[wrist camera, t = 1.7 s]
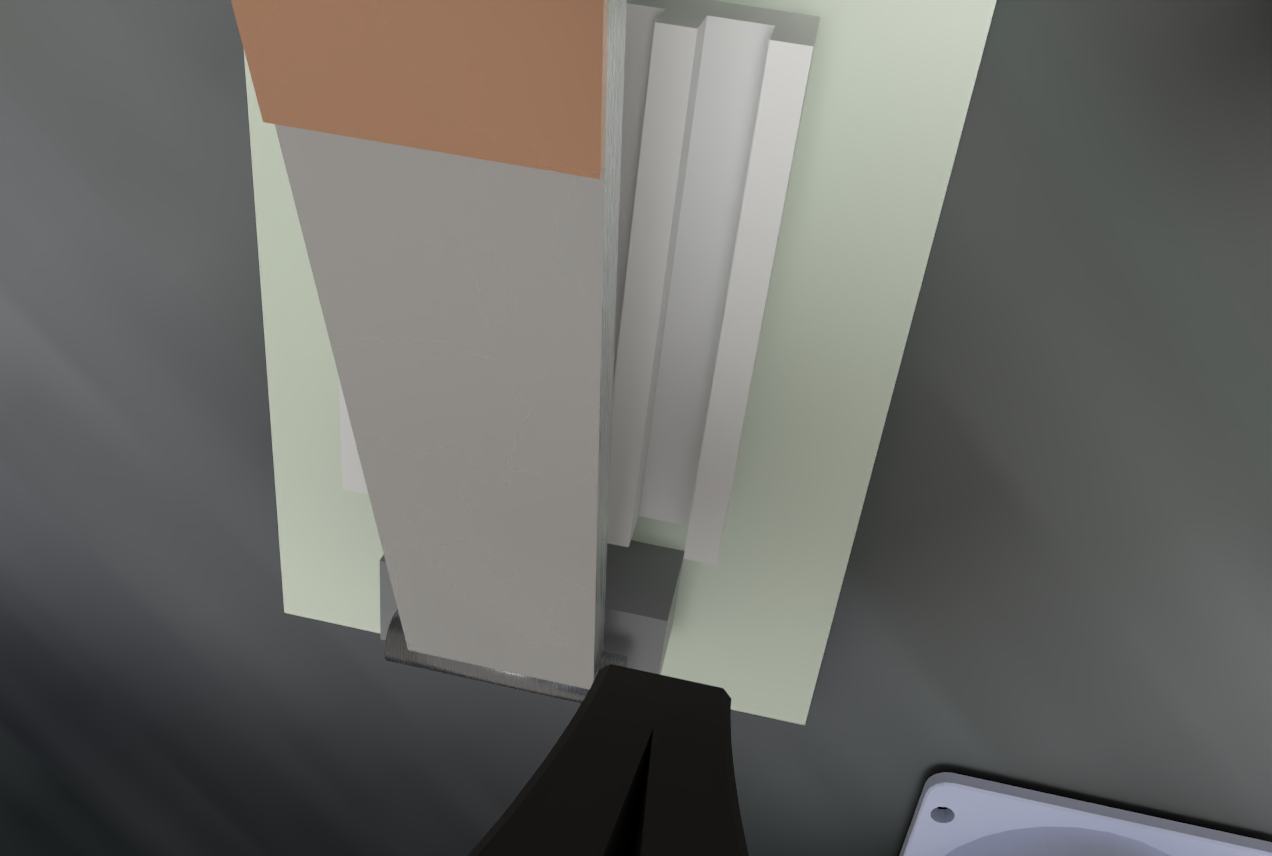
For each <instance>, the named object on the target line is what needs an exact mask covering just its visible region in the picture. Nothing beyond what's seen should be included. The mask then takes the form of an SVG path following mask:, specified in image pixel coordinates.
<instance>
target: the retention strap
mask: <svg viewBox="0 0 1272 856" xmlns="http://www.w3.org/2000/svg"><path fill="white" fill-rule="evenodd" d="M231 2H232V6H233V10H234V13H235V17H236V21H237V25H238V29H239V32H240V36H241V40H242V44H243V48H244V51H245V55H246V59H247V63H248V67H249V70H250V74H251V78H252V82H253V86H254V89H255V93H256V97H257V101H258V105H259V108H260V112H261V116H262V120H263V122H265V123H271V124H275V127H276V131H277V135H278V139H279V143H280V147H281V151H282V155H283V159H284V163H285V167H286V171H287V175H288V179H289V183H290V187H291V190H292V194H293V198H294V202H295V206H296V210H297V214H298V218H299V222H300V226H301V230H302V234H303V238H304V242H305V246H306V250H307V254H308V257H309V261H310V265H311V269H312V273H313V277H314V281H315V285H316V289H317V293H318V297H319V301H320V305H321V309H322V313H323V317H324V321H325V325H326V328H327V332H328V336H329V340H330V344H331V348H332V352H333V356H334V360H335V364H336V368H337V372H338V376H339V380H340V384H341V388H342V392H343V395H344V399H345V403H346V407H347V411H348V415H349V419H350V423H351V427H352V431H353V435H354V439H355V443H356V447H357V451H358V455H359V459H360V462H361V466H362V470H363V474H364V478H365V482H366V486H367V490H368V494H369V498H370V502H371V506H372V510H373V514H374V518H375V522H376V526H377V530H378V533H379V537H380V541H381V545H382V549H383V553H384V557H385V561H386V565H387V569H388V573H389V577H390V581H391V585H392V589H393V593H394V597H395V600H396V604H397V608H398V609H397V611H396V612H395V614H394V615H393V617H392V620H391V622H390V625H389V628H388V631H387V635H386V640H385V648H384V654H385V659H386V660H387V661H392V662H396V663H401V664H405V665H410V666H414V667H419V668H424V669H428V670H433V671H437V672H442V673H446V674H451V675H456V676H460V677H465V678H469V679H474V680H478V681H483V682H488V683H492V684H497V685H501V686H506V687H510V688H515V689H520V690H524V691H529V692H533V693H538V694H542V695H547V696H551V697H556V698H561V699H565V700H570V701H574V702H579V703H582V702H583V700H584V699H585V697H586V695H587V693H588V691H589V690H590V688H591V686H592V684H593V682H594V680H595V678H596V675H597V673H598V671H599V670H600V669H602V668H604V667H606V666H608V665H610V664H613V665H618V666H623V667H627V662H628V656H624V655H619V654H614V653H610V652H605V651H603V650H604V622H605V594H606V566H607V538H608V510H609V482H610V454H611V426H612V398H613V370H614V342H615V314H616V286H617V258H618V230H619V202H620V174H621V146H622V118H623V91H624V63H625V35H626V7H627V0H231Z"/></svg>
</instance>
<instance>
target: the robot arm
mask: <svg viewBox="0 0 1272 856" xmlns="http://www.w3.org/2000/svg"><path fill="white" fill-rule="evenodd" d="M730 711H731V697H730V696H729V695H728V694H727V692H726V691H725V690H724V689H723V688H720V687H716V686H711V685H706V684H702V683H697V682H692V681H688V680H683V679H678V678H674V677H669V676H664V675H660V674H655V673H650V672H646V671H641V670H636V669H632V668H627V667H623V666H618V665H613V664H610V665H608V666H606V667H604V668H602V669H600V670H599V671H598V673H597V675H596V678H595V680H594V682H593V684H592V686H591V688H590V690H589V691H588V693H587V695H586V697H585V699H584V700H583V702H582V704H581V706H580V707H579V709H578V711H577V712H576V714H575V715H574V717H573V719H572V720H571V722H570V723H569V725H568V726H567V728H566V729H565V731H564V732H563V734H562V735H561V737H560V738H559V740H558V741H557V743H556V744H555V746H554V747H553V749H552V750H551V752H550V753H549V754H548V756H547V757H546V759H545V760H544V761H543V763H542V764H541V765H540V767H539V768H538V769H537V771H536V772H535V773H534V775H533V776H532V777H531V779H530V780H529V781H528V783H527V784H526V785H525V787H524V788H523V789H522V791H521V792H520V793H519V795H518V796H517V797H516V799H515V800H514V801H513V803H512V804H511V805H510V806H509V808H508V809H507V810H506V811H505V813H504V814H503V815H502V816H501V818H500V819H499V820H498V821H497V822H496V824H495V825H494V826H493V827H492V828H491V829H490V831H489V832H488V833H487V834H486V835H485V836H484V838H483V839H482V840H481V841H480V842H479V843H478V845H477V846H476V847H475V848H474V849H473V850H472V852H471V853H470V854H469V855H468V856H749V855H748V850H747V845H746V841H745V836H744V831H743V826H742V821H741V815H740V809H739V803H738V797H737V789H736V782H735V774H734V767H733V757H732V746H731V722H730ZM937 807H947V809H937ZM899 856H1272V842H1268V841H1263V840H1259V839H1254V838H1250V837H1245V836H1241V835H1236V834H1231V833H1227V832H1222V831H1218V830H1213V829H1208V828H1204V827H1199V826H1195V825H1190V824H1185V823H1181V822H1176V821H1172V820H1167V819H1163V818H1158V817H1153V816H1149V815H1144V814H1140V813H1135V812H1130V811H1126V810H1121V809H1117V808H1112V807H1107V806H1103V805H1098V804H1094V803H1089V802H1085V801H1080V800H1075V799H1071V798H1066V797H1062V796H1057V795H1052V794H1048V793H1043V792H1039V791H1034V790H1029V789H1025V788H1020V787H1016V786H1011V785H1007V784H1002V783H997V782H993V781H988V780H984V779H979V778H974V777H970V776H965V775H961V774H956V773H950V772H942V773H937V774H934V775H933V776H931V777H929V778H928V780H927V781H926V783H925V785H924V788H923V791H922V793H921V796H920V799H919V802H918V804H917V807H916V810H915V813H914V816H913V818H912V821H911V824H910V827H909V830H908V832H907V835H906V838H905V841H904V844H903V846H902V849H901V852H900V855H899Z"/></svg>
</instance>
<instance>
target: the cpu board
mask: <svg viewBox="0 0 1272 856" xmlns="http://www.w3.org/2000/svg"><path fill="white" fill-rule="evenodd" d="M996 1H997V0H627V7H626V35H625V63H624V91H623V118H622V146H621V174H620V202H619V230H618V258H617V286H616V314H615V342H614V370H613V398H612V426H611V454H610V482H609V510H608V538H607V566H606V594H605V622H604V650H603V651H605V652H610V653H614V654H619V655H624V656H628V662H627V668H632V669H636V670H641V671H646V672H650V673H655V674H660V675H664V676H669V677H674V678H678V679H683V680H688V681H692V682H697V683H702V684H706V685H711V686H716V687H720V688H723V689H724V690H725V691H726V692H727V694H728V695H729V696H730V697H731V709H732V710H736V711H741V712H746V713H750V714H755V715H759V716H764V717H769V718H773V719H778V720H783V721H787V722H792V723H796V724H801V725H805V722H806V719H807V715H808V711H809V707H810V703H811V700H812V696H813V692H814V688H815V685H816V681H817V677H818V673H819V669H820V666H821V662H822V658H823V654H824V651H825V647H826V643H827V639H828V635H829V632H830V628H831V624H832V620H833V617H834V613H835V609H836V605H837V601H838V598H839V594H840V590H841V586H842V583H843V579H844V575H845V571H846V567H847V564H848V560H849V556H850V552H851V548H852V545H853V541H854V537H855V533H856V530H857V526H858V522H859V518H860V514H861V511H862V507H863V503H864V499H865V496H866V492H867V488H868V484H869V480H870V477H871V473H872V469H873V465H874V462H875V458H876V454H877V450H878V446H879V443H880V439H881V435H882V431H883V428H884V424H885V420H886V416H887V412H888V409H889V405H890V401H891V397H892V394H893V390H894V386H895V382H896V378H897V375H898V371H899V367H900V363H901V360H902V356H903V352H904V348H905V344H906V341H907V337H908V333H909V329H910V326H911V322H912V318H913V314H914V310H915V307H916V303H917V299H918V295H919V292H920V288H921V284H922V280H923V276H924V273H925V269H926V265H927V261H928V257H929V254H930V250H931V246H932V242H933V239H934V235H935V231H936V227H937V223H938V220H939V216H940V212H941V208H942V205H943V201H944V197H945V193H946V189H947V186H948V182H949V178H950V174H951V171H952V167H953V163H954V159H955V155H956V152H957V148H958V144H959V140H960V137H961V133H962V129H963V125H964V121H965V118H966V114H967V110H968V106H969V103H970V99H971V95H972V91H973V87H974V84H975V80H976V76H977V72H978V69H979V65H980V61H981V57H982V53H983V50H984V46H985V42H986V38H987V35H988V31H989V27H990V23H991V19H992V16H993V12H994V8H995V4H996ZM244 59H245V73H246V87H247V101H248V115H249V128H250V142H251V156H252V170H253V184H254V198H255V212H256V225H257V239H258V253H259V267H260V281H261V295H262V309H263V322H264V336H265V350H266V364H267V378H268V392H269V406H270V420H271V433H272V447H273V461H274V475H275V489H276V503H277V517H278V530H279V544H280V558H281V572H282V586H283V600H284V613H288V614H293V615H298V616H302V617H307V618H311V619H316V620H321V621H325V622H330V623H335V624H339V625H344V626H348V627H353V628H358V629H362V630H367V631H371V632H376V633H380V634H381V640H386V635H387V631H388V628H389V625H390V622H391V620H392V617H393V615H394V614H395V612H396V611H397V609H398V608H397V604H396V600H395V597H394V593H393V589H392V585H391V581H390V577H389V573H388V569H387V565H386V561H385V557H384V553H383V549H382V545H381V541H380V537H379V533H378V530H377V526H376V522H375V518H374V514H373V510H372V506H371V502H370V498H369V494H368V490H367V486H366V482H365V478H364V474H363V470H362V466H361V462H360V459H359V455H358V451H357V447H356V443H355V439H354V435H353V431H352V427H351V423H350V419H349V415H348V411H347V407H346V403H345V399H344V395H343V392H342V388H341V384H340V380H339V376H338V372H337V368H336V364H335V360H334V356H333V352H332V348H331V344H330V340H329V336H328V332H327V328H326V325H325V321H324V317H323V313H322V309H321V305H320V301H319V297H318V293H317V289H316V285H315V281H314V277H313V273H312V269H311V265H310V261H309V257H308V254H307V250H306V246H305V242H304V238H303V234H302V230H301V226H300V222H299V218H298V214H297V210H296V206H295V202H294V198H293V194H292V190H291V187H290V183H289V179H288V175H287V171H286V167H285V163H284V159H283V155H282V151H281V147H280V143H279V139H278V135H277V131H276V127H275V124H271V123H265V122H263V120H262V116H261V112H260V108H259V105H258V101H257V97H256V93H255V89H254V86H253V82H252V78H251V74H250V70H249V67H248V63H247V59H246V55H245V51H244Z"/></svg>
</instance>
